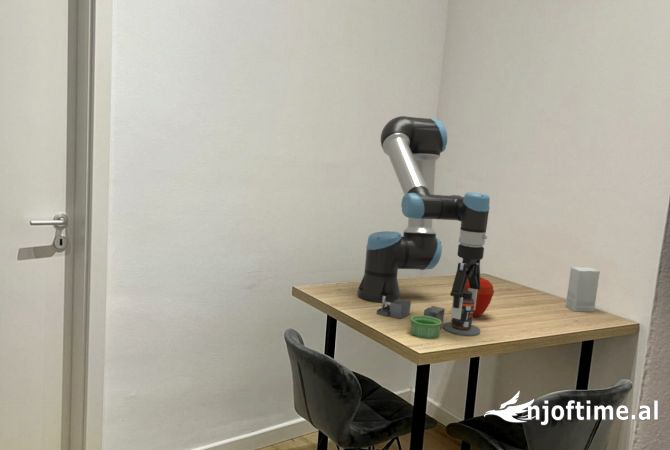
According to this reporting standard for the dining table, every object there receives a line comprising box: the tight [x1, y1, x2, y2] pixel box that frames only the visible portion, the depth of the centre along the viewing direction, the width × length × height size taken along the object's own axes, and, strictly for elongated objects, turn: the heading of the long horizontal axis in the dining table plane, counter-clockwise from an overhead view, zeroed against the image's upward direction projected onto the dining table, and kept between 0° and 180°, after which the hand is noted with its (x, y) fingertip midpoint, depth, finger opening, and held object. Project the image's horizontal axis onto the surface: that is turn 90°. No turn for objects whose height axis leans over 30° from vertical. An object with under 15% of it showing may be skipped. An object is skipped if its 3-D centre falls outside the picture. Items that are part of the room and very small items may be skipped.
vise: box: [376, 296, 446, 324], centre depth 188 cm, size 20×9×5 cm, turn 59°
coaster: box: [442, 321, 481, 337], centre depth 180 cm, size 11×11×1 cm
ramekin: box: [410, 314, 442, 339], centre depth 173 cm, size 9×9×4 cm
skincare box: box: [565, 266, 601, 313], centre depth 217 cm, size 8×7×16 cm
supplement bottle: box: [451, 290, 474, 330], centre depth 179 cm, size 6×6×11 cm
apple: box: [464, 276, 495, 317], centre depth 197 cm, size 12×12×14 cm
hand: (463, 313), depth 179 cm, fingers open, 13 cm apart
